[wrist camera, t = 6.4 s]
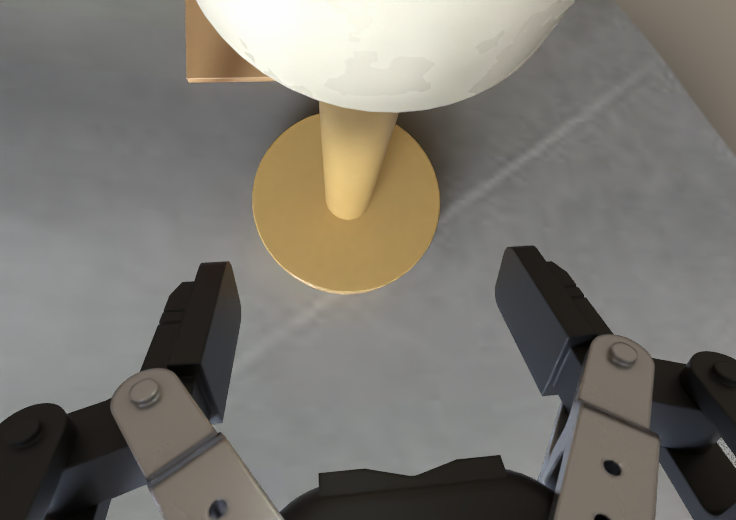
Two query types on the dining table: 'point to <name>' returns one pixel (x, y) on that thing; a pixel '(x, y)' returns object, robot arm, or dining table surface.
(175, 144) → the dining table surface
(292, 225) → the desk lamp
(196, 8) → the wooden board
